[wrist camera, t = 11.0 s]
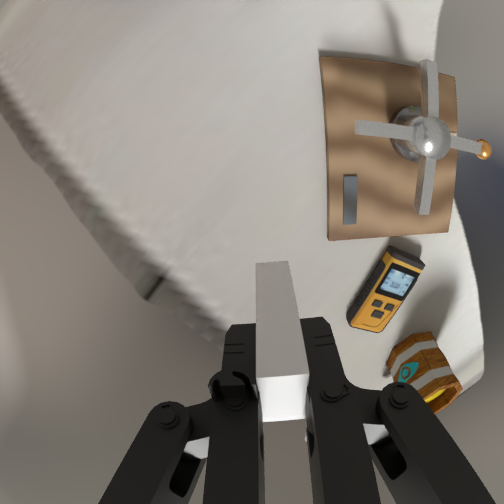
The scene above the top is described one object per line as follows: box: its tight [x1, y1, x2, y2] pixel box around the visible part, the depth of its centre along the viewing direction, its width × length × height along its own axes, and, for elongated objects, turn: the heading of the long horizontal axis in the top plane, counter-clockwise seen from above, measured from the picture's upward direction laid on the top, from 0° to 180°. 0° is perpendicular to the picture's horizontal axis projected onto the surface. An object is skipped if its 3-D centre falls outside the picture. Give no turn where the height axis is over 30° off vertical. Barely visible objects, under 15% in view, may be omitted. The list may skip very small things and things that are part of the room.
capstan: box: [355, 59, 492, 215], centre depth 28 cm, size 21×19×8 cm
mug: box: [386, 332, 462, 414], centre depth 48 cm, size 20×14×15 cm
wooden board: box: [319, 56, 457, 241], centre depth 34 cm, size 26×22×2 cm
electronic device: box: [346, 246, 425, 333], centre depth 45 cm, size 8×16×3 cm, turn 161°
